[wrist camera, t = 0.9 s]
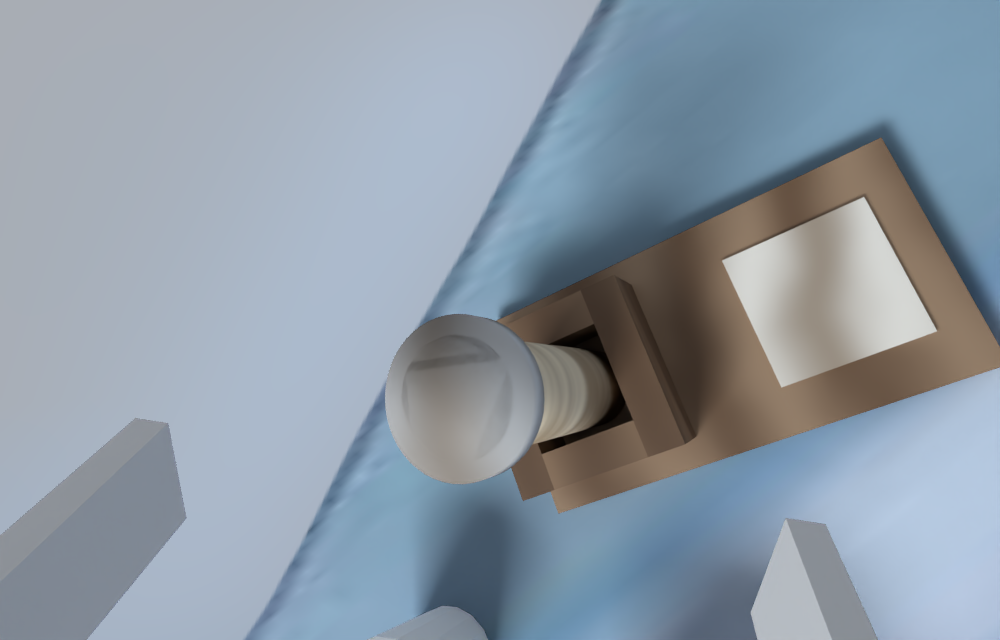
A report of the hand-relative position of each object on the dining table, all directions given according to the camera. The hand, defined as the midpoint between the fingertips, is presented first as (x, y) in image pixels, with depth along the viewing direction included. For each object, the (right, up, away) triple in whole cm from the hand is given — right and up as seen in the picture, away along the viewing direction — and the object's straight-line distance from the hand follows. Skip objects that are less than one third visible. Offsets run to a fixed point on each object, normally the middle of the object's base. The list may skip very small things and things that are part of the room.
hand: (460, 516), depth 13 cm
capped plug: (+6, 0, +23) cm, 23 cm away
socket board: (+12, +3, +21) cm, 25 cm away
